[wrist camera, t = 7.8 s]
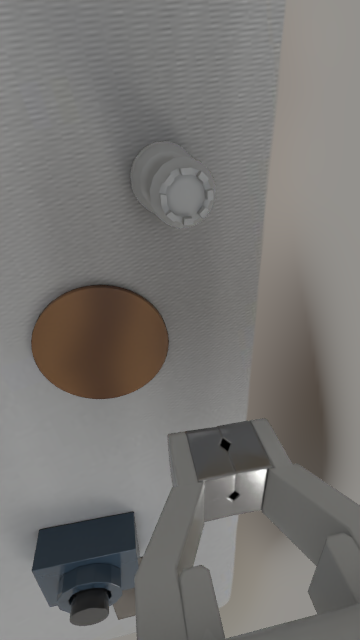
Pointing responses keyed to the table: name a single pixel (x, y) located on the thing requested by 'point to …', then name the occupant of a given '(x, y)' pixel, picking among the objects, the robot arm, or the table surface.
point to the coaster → (99, 342)
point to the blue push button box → (87, 558)
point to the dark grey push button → (89, 606)
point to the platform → (126, 603)
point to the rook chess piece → (173, 184)
